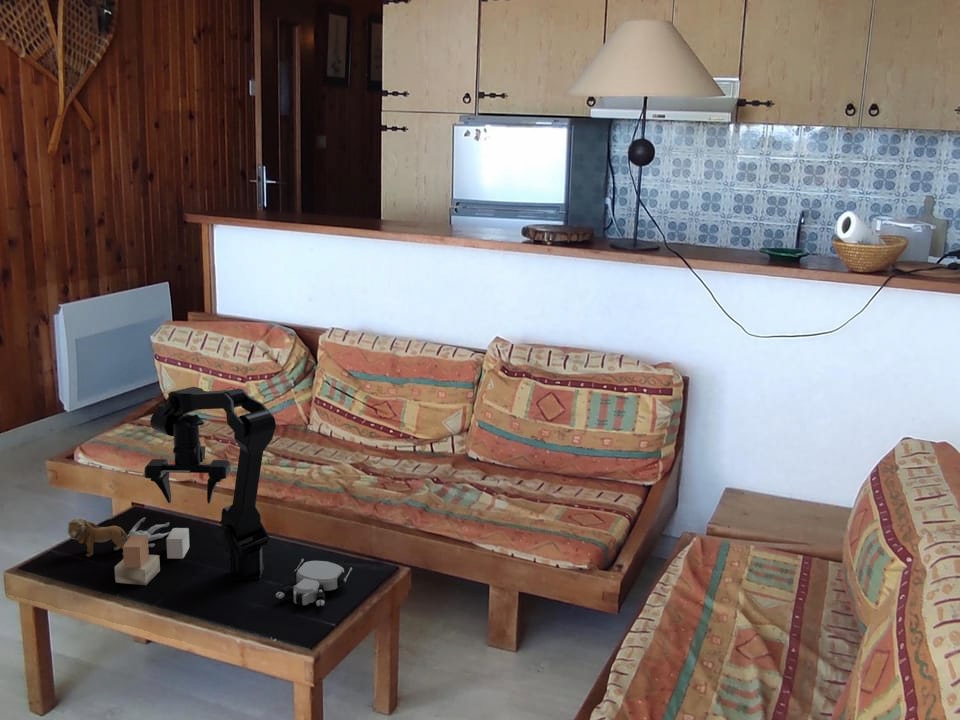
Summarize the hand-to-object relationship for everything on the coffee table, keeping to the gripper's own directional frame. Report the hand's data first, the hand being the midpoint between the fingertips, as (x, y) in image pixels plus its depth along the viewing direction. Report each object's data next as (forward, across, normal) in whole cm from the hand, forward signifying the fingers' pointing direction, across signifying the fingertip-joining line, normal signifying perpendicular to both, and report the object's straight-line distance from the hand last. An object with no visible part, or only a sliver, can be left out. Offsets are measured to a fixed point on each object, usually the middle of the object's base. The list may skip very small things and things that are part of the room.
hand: (189, 502), depth 220 cm
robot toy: (+12, -32, +23) cm, 41 cm away
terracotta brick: (+7, +8, +16) cm, 19 cm away
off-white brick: (+11, +2, +4) cm, 12 cm away
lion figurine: (+11, +20, +5) cm, 23 cm away
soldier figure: (+11, +11, -2) cm, 16 cm away
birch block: (+11, +8, +16) cm, 21 cm away
